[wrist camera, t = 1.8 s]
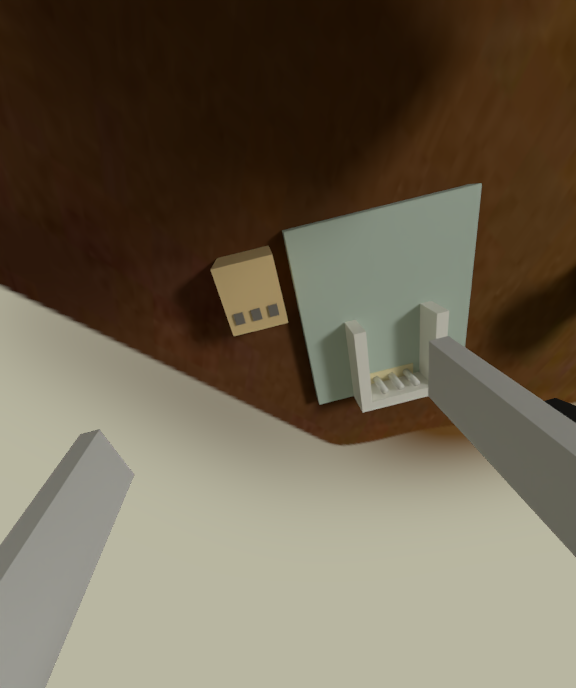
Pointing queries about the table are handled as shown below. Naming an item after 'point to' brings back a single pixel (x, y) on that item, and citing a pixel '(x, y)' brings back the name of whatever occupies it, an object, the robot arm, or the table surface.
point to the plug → (249, 290)
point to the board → (384, 293)
